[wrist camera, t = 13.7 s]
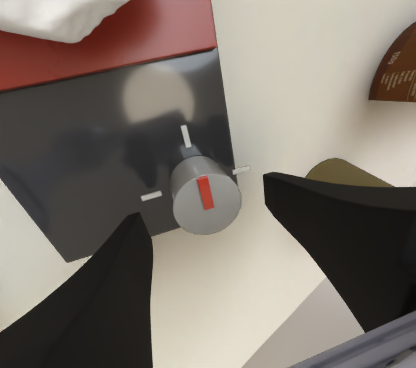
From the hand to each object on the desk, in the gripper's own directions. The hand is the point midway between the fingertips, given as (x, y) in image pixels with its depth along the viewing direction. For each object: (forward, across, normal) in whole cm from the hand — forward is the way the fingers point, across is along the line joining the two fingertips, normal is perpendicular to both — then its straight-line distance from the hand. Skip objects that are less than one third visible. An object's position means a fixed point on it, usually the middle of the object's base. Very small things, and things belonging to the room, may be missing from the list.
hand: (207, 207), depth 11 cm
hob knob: (+4, 0, 0) cm, 4 cm away
